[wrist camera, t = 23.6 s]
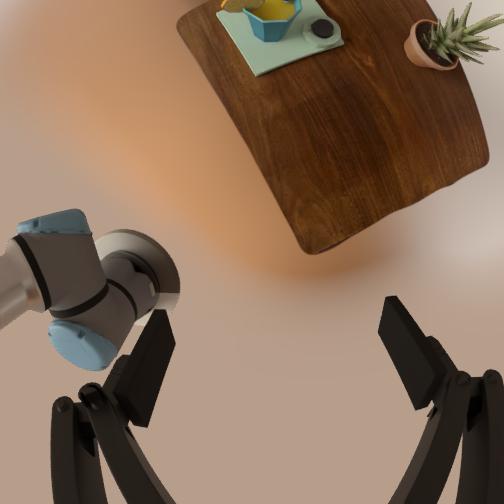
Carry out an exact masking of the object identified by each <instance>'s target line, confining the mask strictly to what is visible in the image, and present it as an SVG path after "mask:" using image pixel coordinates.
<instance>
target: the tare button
mask: <svg viewBox="0 0 504 504" xmlns="http://www.w3.org/2000/svg"><path fill="white" fill-rule="evenodd" d="M333 30H334V26H333V24H332V23H331V22H330V21H328V20H326V19H318V20H317V21H316V22H315V23H314V25H313V32H314V34H315V35H317V36H318V37H321V38H327V37H329V36H330V35H331V34H332V32H333Z"/></svg>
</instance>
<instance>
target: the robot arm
mask: <svg viewBox="0 0 504 504" xmlns="http://www.w3.org/2000/svg"><path fill="white" fill-rule="evenodd" d="M17 233H19V234H18V235H17V236H15V237H13V238H12V239H10V240H9V241H8V244H7V247H6V250H5V253H4V254H3V255H2V256H1V257H0V330H1V329H2V328H4V327H5V326H6V325H8V324H9V323H11V322H12V321H13V320H15V319H16V318H17V317H19V316H20V315H22V314H23V313H24V312H26V311H27V310H33V311H37V312H40V313H43V312H44V311H46V310H47V309H49V311H50V313H51V315H52V317H53V320H54V321H52V323H51V324H50V327H49V329H48V330H49V333H48V335H49V339H50V341H51V343H52V344H53V346H54V347H55V348H56V350H57V351H58V352H59V353H60V354H61V355H62V356H63V357H64V358H65V359H67V360H68V361H70V362H71V363H73V364H74V365H76V366H78V367H81V368H83V369H86V370H90V371H101V370H104V369H106V368H107V367H108V366H109V365H110V364H111V362H112V361H113V359H114V358H115V357H116V356H117V354H118V352H119V350H120V348H121V346H122V345H123V343H124V341H125V339H126V337H127V335H128V334H129V332H130V330H131V328H132V326H133V325H134V323H135V321H137V320H139V319H140V318H142V317H143V316H145V315H146V314H148V313H149V312H150V311H151V310H152V309H153V308H154V307H155V305H156V303H157V302H158V299H159V296H160V284H159V280H158V277H157V275H156V273H155V272H154V270H153V269H152V267H151V266H150V265H149V264H148V263H147V262H146V261H145V260H144V259H143V258H141V257H140V256H138V255H136V254H134V253H132V252H128V251H114V252H111V253H109V254H108V255H106V256H105V257H104V258H103V259H102V260H101V261H100V259H99V256H98V253H97V250H96V247H95V244H94V241H93V238H92V232H91V231H90V229H89V226H88V223H87V219H86V216H85V214H84V213H83V212H82V211H81V210H79V209H70V210H65V211H61V212H56V213H52V214H49V215H45V216H41V217H37V218H34V219H31V220H28V221H25V222H21V223H19V224H18V226H17ZM378 334H379V336H380V337H381V340H382V341H383V343H384V345H385V347H386V349H387V351H388V353H389V355H390V357H391V359H392V361H393V363H394V365H395V367H396V369H397V371H398V374H399V376H400V378H401V380H402V382H403V384H404V386H405V388H406V390H407V393H408V395H409V397H410V399H411V402H412V404H413V406H414V408H415V410H419V409H422V408H425V407H427V406H428V405H429V404H430V402H431V400H432V401H433V403H434V406H433V408H432V409H431V411H430V412H429V414H428V415H427V417H429V419H428V422H427V425H426V427H425V430H424V432H423V435H422V437H421V440H420V442H419V445H418V447H417V449H416V451H415V454H414V456H413V458H412V460H411V462H410V465H409V466H408V468H407V470H406V472H405V475H404V477H403V478H402V480H401V482H400V484H399V486H398V488H397V489H396V491H395V493H394V495H393V496H392V498H391V500H390V501H389V503H388V504H437V502H438V500H439V498H440V495H441V493H442V491H443V488H444V486H445V484H446V481H447V479H448V476H449V473H450V471H451V468H452V465H453V462H454V459H455V456H456V453H457V450H458V447H459V443H460V440H461V436H462V432H463V441H462V458H461V469H460V478H459V485H458V492H457V498H456V503H455V504H504V385H503V380H502V377H501V375H500V374H499V372H497V371H496V370H491V369H490V370H487V371H486V372H485V373H484V375H483V376H482V377H471V376H470V375H469V374H468V373H466V372H464V371H458V369H457V368H456V366H455V365H454V363H453V361H452V360H451V358H450V357H449V356H448V354H447V353H446V351H445V350H444V348H443V347H442V345H441V344H440V343H439V341H438V340H437V339H435V338H434V337H432V336H428V337H426V336H425V335H424V333H423V332H422V331H421V329H420V328H419V326H418V325H417V323H416V322H415V321H414V319H413V318H412V316H411V315H410V314H409V312H408V311H407V309H406V308H405V307H404V305H403V304H402V303H401V301H400V300H399V299H398V297H397V296H388V297H385V302H384V306H383V311H382V316H381V320H380V324H379V329H378ZM175 344H176V343H175V340H174V336H173V333H172V329H171V326H170V323H169V319H168V315H167V311H166V309H154V311H153V312H152V314H151V316H150V318H149V320H148V322H147V323H146V325H145V327H144V329H143V331H142V333H141V335H140V337H139V339H138V341H137V343H136V345H135V346H134V349H133V350H132V353H131V354H130V355H122V356H121V357H120V358H118V360H116V362H115V364H114V366H113V369H112V370H111V372H110V374H109V375H108V377H107V379H106V381H105V383H104V385H103V387H101V386H100V384H97V383H93V382H91V383H87V384H85V385H84V386H82V387H81V389H80V390H79V393H78V397H79V399H80V400H81V401H82V402H78V403H74V402H73V401H72V399H71V398H69V397H67V396H63V397H60V398H58V399H57V400H56V401H55V402H54V403H53V407H52V420H51V479H52V491H53V500H54V504H108V502H107V498H106V493H105V488H104V483H103V477H102V472H101V465H100V459H99V451H98V443H99V445H100V448H101V450H102V452H103V455H104V457H105V459H106V462H107V464H108V466H109V468H110V470H111V473H112V475H113V477H114V479H115V481H116V483H117V485H118V487H119V489H120V491H121V493H122V495H123V496H124V498H125V500H126V502H127V504H176V503H175V501H174V500H173V499H172V497H171V496H170V494H169V493H168V492H167V490H166V489H165V487H164V486H163V484H162V483H161V481H160V480H159V478H158V477H157V475H156V474H155V472H154V470H153V469H152V467H151V466H150V464H149V462H148V461H147V459H146V457H145V455H144V454H143V452H142V450H141V448H140V447H139V445H138V443H137V441H136V440H135V438H134V436H133V434H132V432H131V430H130V428H129V427H128V423H129V420H130V421H131V422H132V423H133V425H135V426H140V427H146V428H147V427H148V425H149V421H150V418H151V415H152V412H153V409H154V406H155V402H156V400H157V397H158V394H159V391H160V388H161V385H162V382H163V379H164V376H165V373H166V370H167V367H168V364H169V362H170V358H171V356H172V353H173V350H174V347H175ZM97 440H98V442H97Z"/></svg>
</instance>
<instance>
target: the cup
mask: <svg viewBox="0 0 504 504" xmlns="http://www.w3.org/2000/svg"><path fill="white" fill-rule="evenodd" d="M221 8H222V9H223V10H225V11H227V12H229V13H240V12H244V13H245V14H246V15H247V16H248V19H249V22H250V24H251V27H252V30H253V33H254V36H256V37H257V38H259V39H260V40H262V41H263V42H278V41H279V40H280V39H281V38H282V37H283V36H285V35H286V33H287V31H288V30H289V28H290V26H291V24H292V22H293V20H294V19H295V17H296V15H298V14H299V13H300V12H301V11H302V4H301V0H224V1H223V3H222V4H221Z"/></svg>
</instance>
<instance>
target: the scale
mask: <svg viewBox="0 0 504 504" xmlns="http://www.w3.org/2000/svg"><path fill="white" fill-rule="evenodd" d="M301 4H302V11H301V12H300V13H299V14H298V15H296V17H295V19H294V20H293V22H292V24H291V26H290V28H289V30H288V31H287V33H286V35H285V36H283V37H282V38H281V39H280V40H279V41H278V42H263V41H262V40H260V39H259V38H257V37H256V36H254V33H253V30H252V27H251V24H250V22H249V19H248V16H247V15H246V14H245V13H244V12H240V13H229V12H227V11H225V10H222V11H220V12H217V13H216V15H217V17H218V18H219V20H220V21H221V23H222V24H223V26H224V27H225V29H226V30H227V32H228V33H229V35H230V36H231V38H232V39H233V41H234V42H235V44H236V45H237V47H238V49H239V50H240V52H241V53H242V55H243V57H244V58H245V60H246V61H247V63H248V65H249V66H250V68H251V70H252V71H253V73H254V75H255V76H256V77H257V76H259V75H261V74H264V73H266V72H268V71H271V70H273V69H276V68H278V67H280V66H283V65H286V64H288V63H291V62H293V61H296V60H299V59H302V58H304V57H307V56H310V55H313V54H316V53H319V52H322V51H325V50H329V49H332V48H335V47H339V46H342V45H343V44H344V42H343V40H342V38H341V29H340V27H339V26H338V24H337V23H336V22H335V21H334V20H332V19H331V18H329V17H328V16H326V14H325V13H324V11H323V10H322V9H321V7H320V6H319V4H318V3H317V2H316V0H301ZM318 19H326V20H328V21H330V22H331V23H332V24H333V26H334V30H333V32H332V34H331V35H330V36H329V37H327V38H321V37H318V36H317V35H315V34H314V32H313V25H314V23H315V22H316V21H317V20H318Z"/></svg>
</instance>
